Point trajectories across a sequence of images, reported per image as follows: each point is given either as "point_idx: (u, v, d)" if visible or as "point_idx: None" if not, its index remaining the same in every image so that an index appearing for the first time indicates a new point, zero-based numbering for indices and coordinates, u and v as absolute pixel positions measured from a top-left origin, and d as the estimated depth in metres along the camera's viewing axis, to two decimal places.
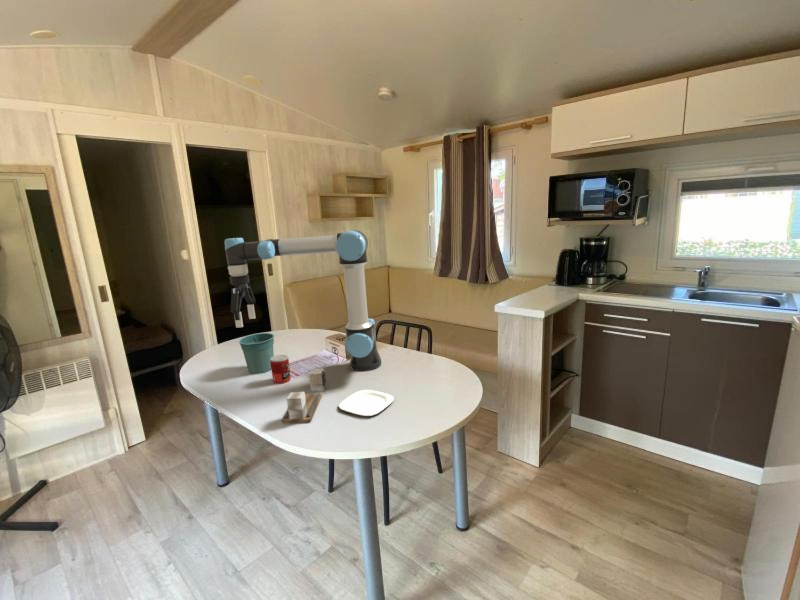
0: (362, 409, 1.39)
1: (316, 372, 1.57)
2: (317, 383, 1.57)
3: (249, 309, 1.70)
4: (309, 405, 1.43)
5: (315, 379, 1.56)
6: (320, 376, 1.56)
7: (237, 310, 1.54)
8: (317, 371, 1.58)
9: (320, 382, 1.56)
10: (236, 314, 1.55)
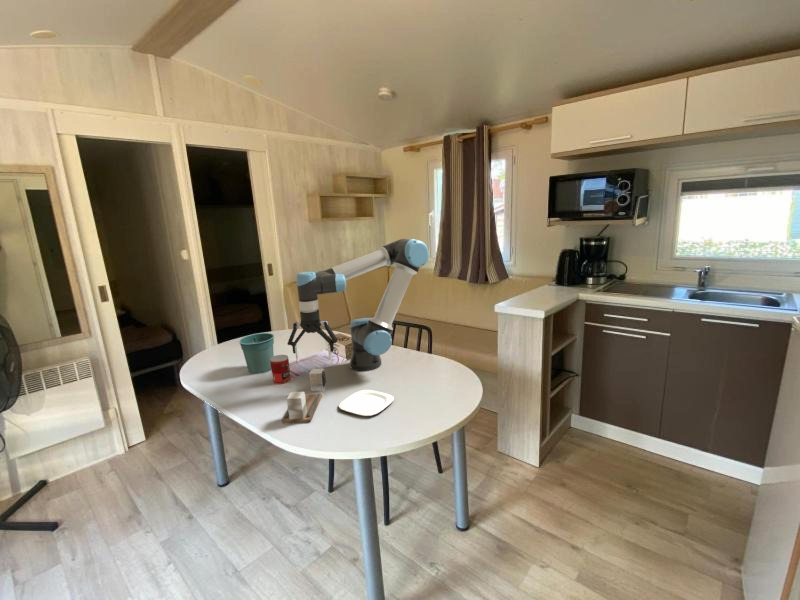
0: (362, 409, 1.39)
1: (316, 372, 1.57)
2: (317, 383, 1.57)
3: None
4: (309, 405, 1.43)
5: (315, 379, 1.56)
6: (320, 376, 1.56)
7: (288, 344, 1.54)
8: (317, 371, 1.58)
9: (320, 382, 1.56)
10: None
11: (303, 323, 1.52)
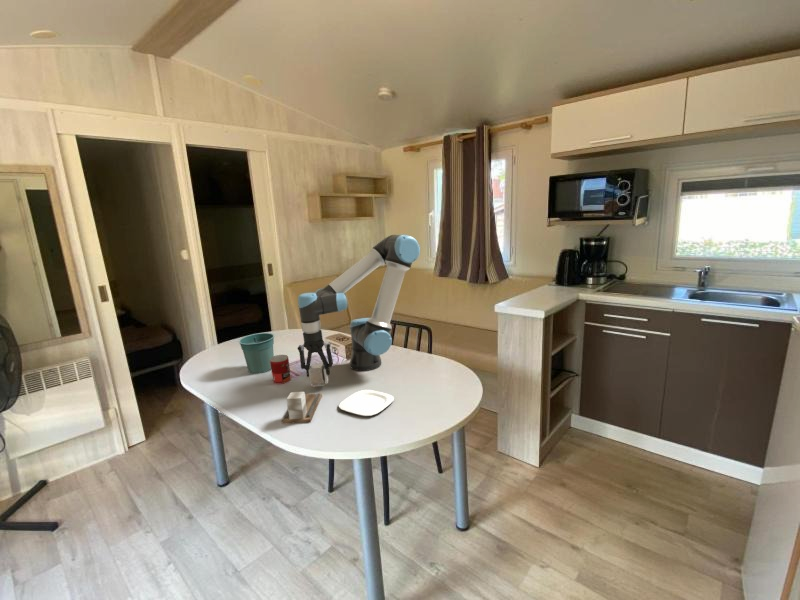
0: (362, 409, 1.39)
1: (316, 366, 1.57)
2: (317, 377, 1.56)
3: None
4: (309, 405, 1.43)
5: (315, 373, 1.56)
6: (320, 370, 1.56)
7: (302, 367, 1.57)
8: (316, 366, 1.58)
9: (320, 376, 1.56)
10: None
11: (305, 343, 1.54)
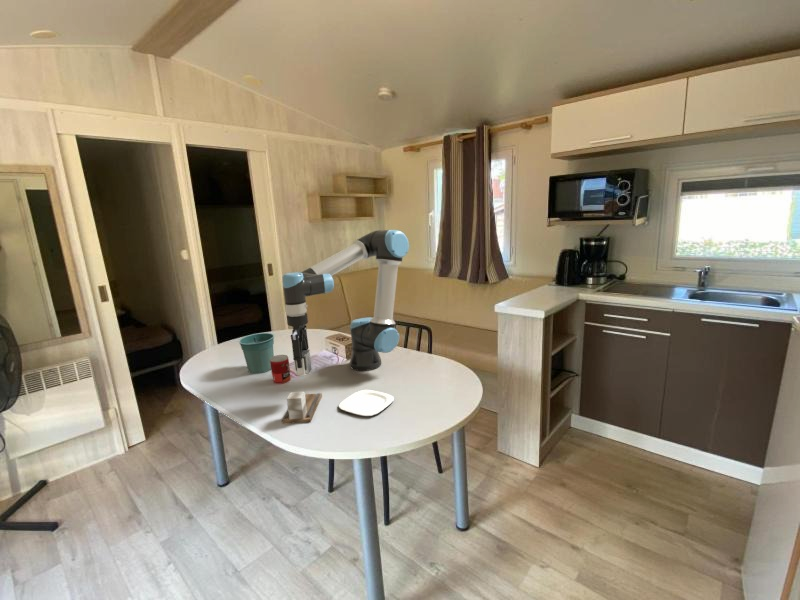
0: (362, 409, 1.39)
1: None
2: None
3: None
4: (309, 405, 1.43)
5: None
6: None
7: None
8: None
9: None
10: None
11: None
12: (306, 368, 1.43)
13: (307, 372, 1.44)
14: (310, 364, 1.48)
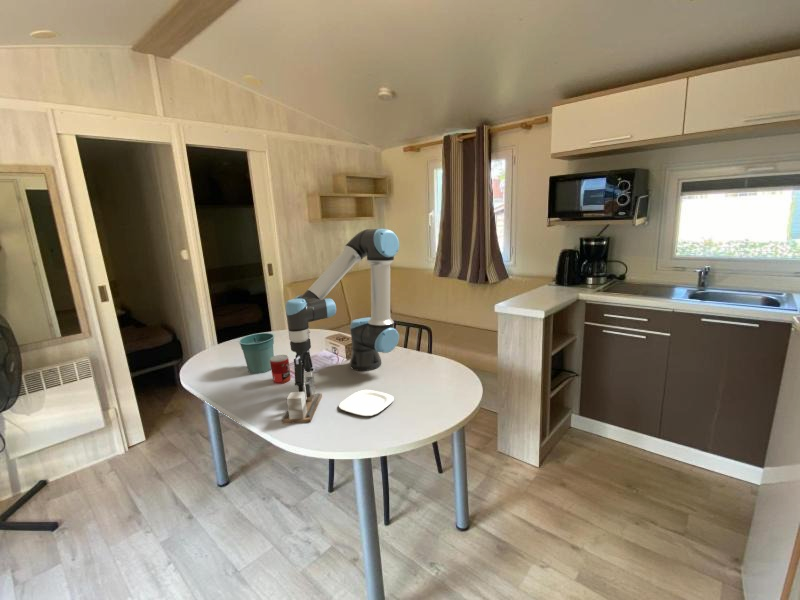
0: (362, 409, 1.39)
1: None
2: None
3: None
4: (309, 405, 1.43)
5: None
6: None
7: None
8: (304, 379, 1.47)
9: None
10: None
11: None
12: (310, 395, 1.46)
13: (311, 399, 1.47)
14: (314, 390, 1.50)
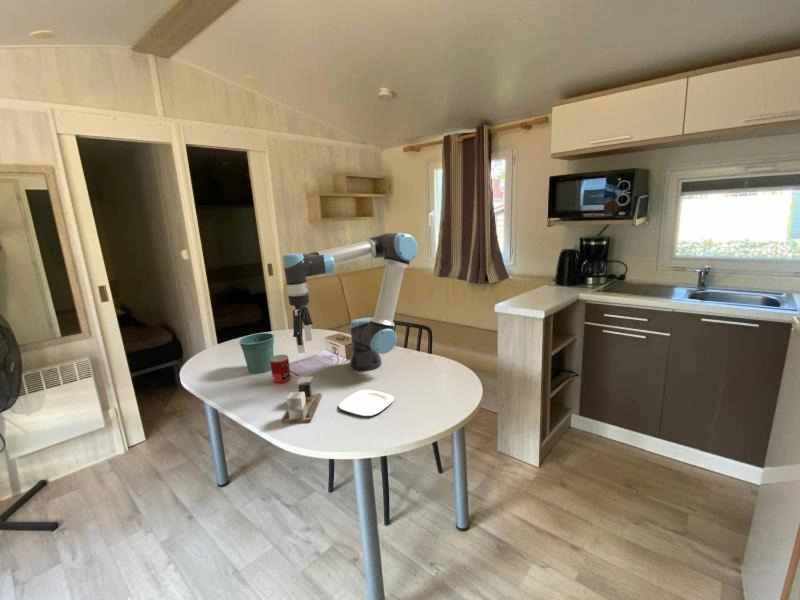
0: (362, 409, 1.39)
1: (302, 379, 1.47)
2: None
3: None
4: (309, 405, 1.43)
5: None
6: None
7: None
8: (304, 379, 1.47)
9: None
10: None
11: None
12: (310, 395, 1.46)
13: (311, 399, 1.47)
14: (314, 390, 1.50)
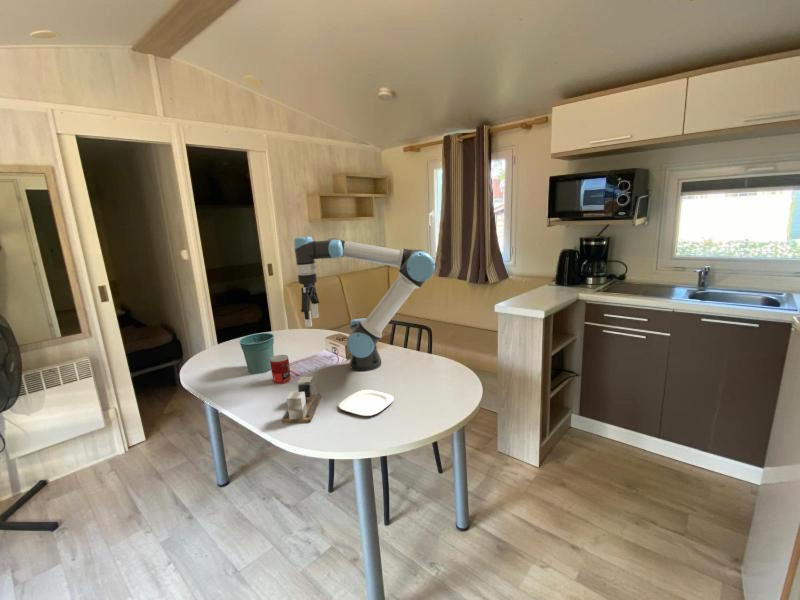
0: (362, 409, 1.39)
1: (302, 379, 1.47)
2: None
3: None
4: (309, 405, 1.43)
5: None
6: None
7: None
8: (304, 379, 1.47)
9: None
10: None
11: None
12: (310, 395, 1.46)
13: (311, 399, 1.47)
14: (314, 390, 1.50)
